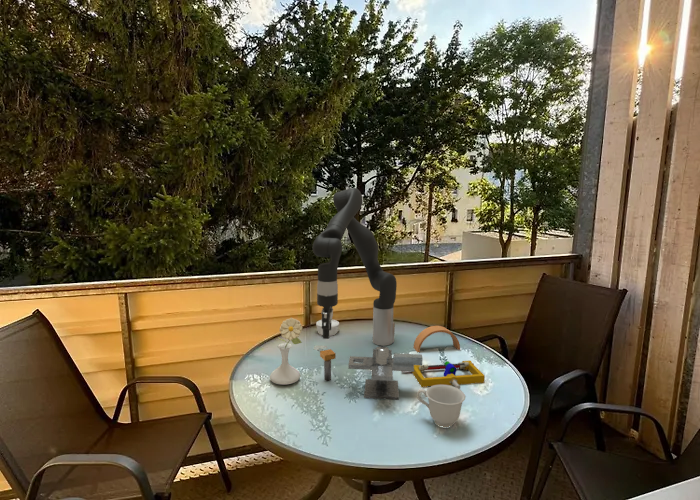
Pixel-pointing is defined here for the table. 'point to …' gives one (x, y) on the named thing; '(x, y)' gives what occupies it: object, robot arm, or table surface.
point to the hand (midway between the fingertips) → (327, 334)
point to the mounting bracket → (319, 348)
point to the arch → (432, 330)
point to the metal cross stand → (384, 371)
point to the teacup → (443, 403)
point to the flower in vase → (285, 371)
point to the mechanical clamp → (449, 374)
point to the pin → (327, 362)
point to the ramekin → (331, 332)
